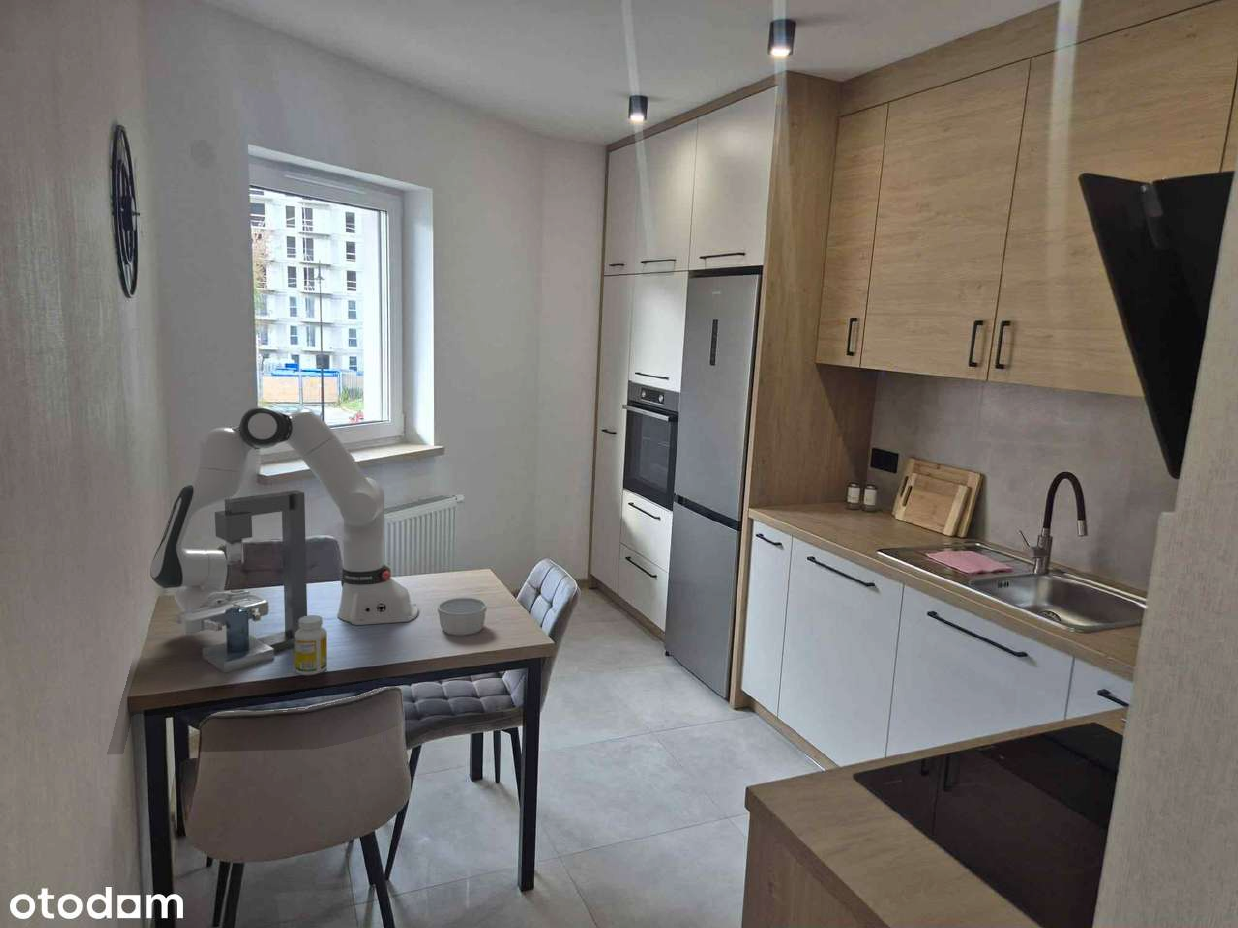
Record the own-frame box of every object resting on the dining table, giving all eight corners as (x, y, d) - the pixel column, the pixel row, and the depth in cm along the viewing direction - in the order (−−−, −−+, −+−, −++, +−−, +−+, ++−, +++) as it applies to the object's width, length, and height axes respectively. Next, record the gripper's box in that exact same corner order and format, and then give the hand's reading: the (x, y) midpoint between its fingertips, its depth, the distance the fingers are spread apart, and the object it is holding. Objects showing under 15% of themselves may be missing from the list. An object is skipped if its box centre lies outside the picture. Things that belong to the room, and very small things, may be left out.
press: (292, 633, 210) (288, 487, 203) (315, 646, 202) (312, 495, 196) (202, 658, 192) (195, 499, 186) (224, 672, 185) (217, 508, 178)
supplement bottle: (304, 678, 184) (303, 626, 181) (289, 669, 188) (288, 618, 186) (332, 669, 189) (332, 618, 187) (317, 660, 194) (316, 611, 191)
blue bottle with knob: (252, 644, 195) (250, 600, 193) (245, 652, 190) (243, 607, 189) (231, 644, 195) (229, 600, 193) (223, 652, 190) (222, 607, 188)
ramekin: (436, 638, 211) (436, 613, 210) (439, 620, 224) (439, 597, 223) (485, 637, 213) (486, 613, 212) (486, 619, 226) (486, 596, 225)
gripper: (169, 606, 191) (193, 621, 182) (252, 587, 207) (278, 600, 198) (170, 630, 192) (194, 646, 183) (253, 610, 208) (279, 624, 199)
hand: (238, 622), depth 191 cm, fingers open, 8 cm apart
